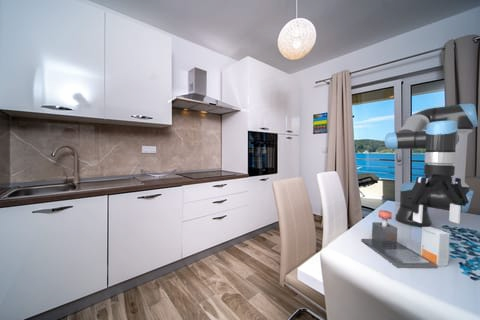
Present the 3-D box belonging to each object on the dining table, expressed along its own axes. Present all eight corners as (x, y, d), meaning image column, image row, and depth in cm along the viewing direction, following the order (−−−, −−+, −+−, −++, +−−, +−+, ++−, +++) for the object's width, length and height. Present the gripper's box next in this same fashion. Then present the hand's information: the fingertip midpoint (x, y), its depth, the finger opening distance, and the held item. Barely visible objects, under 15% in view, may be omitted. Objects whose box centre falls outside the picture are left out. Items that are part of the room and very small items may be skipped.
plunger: (385, 233, 81) (386, 210, 80) (393, 238, 77) (394, 213, 76) (375, 233, 81) (376, 210, 80) (382, 238, 77) (384, 213, 76)
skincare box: (419, 256, 71) (421, 226, 70) (429, 256, 71) (431, 226, 71) (437, 266, 65) (439, 233, 64) (448, 266, 65) (450, 233, 65)
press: (392, 241, 83) (393, 221, 83) (437, 268, 64) (438, 242, 64) (361, 241, 83) (362, 221, 83) (397, 267, 64) (398, 242, 64)
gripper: (460, 164, 70) (457, 218, 71) (395, 163, 70) (393, 217, 71) (487, 165, 63) (483, 226, 63) (414, 164, 63) (411, 225, 63)
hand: (435, 222), depth 67 cm, fingers open, 13 cm apart
